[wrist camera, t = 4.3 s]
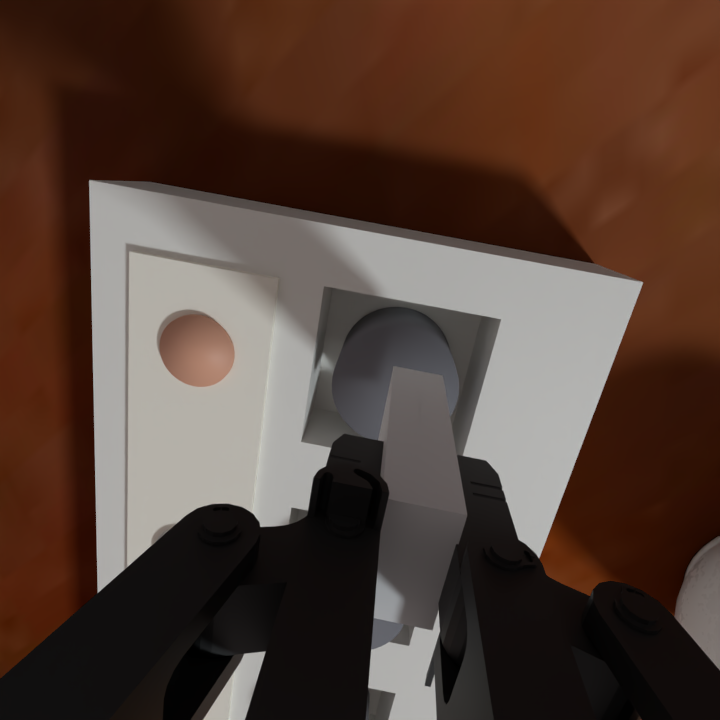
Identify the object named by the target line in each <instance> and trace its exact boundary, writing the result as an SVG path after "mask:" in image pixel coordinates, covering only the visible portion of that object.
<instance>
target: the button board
mask: <svg viewBox="0 0 720 720" xmlns="http://www.w3.org/2000/svg"><path fill="white" fill-rule="evenodd" d="M89 198H90V246H91V295H92V343H93V391H94V439H95V488H96V536H97V584H98V592H99V591H101V590H102V589H103V588H104V587H105V586H106V585H107V584H109V583H110V582H111V581H112V580H113V579H114V578H115V577H117V576H118V575H119V574H120V573H121V572H122V571H123V570H124V569H126V568H127V567H128V566H129V565H130V564H131V563H132V562H134V561H135V560H136V559H137V558H138V557H139V556H140V555H141V554H143V553H144V552H145V551H146V550H147V549H148V548H149V547H151V546H152V545H153V544H154V543H155V542H156V541H157V540H159V539H160V538H161V537H162V536H163V535H164V534H165V533H166V532H168V531H169V530H170V529H171V528H172V527H173V526H174V525H176V524H177V523H178V522H179V521H180V520H181V519H182V518H183V517H185V516H186V515H187V514H189V513H191V512H192V511H194V510H195V509H197V508H199V507H203V506H207V505H210V504H232V505H236V506H240V507H243V508H245V509H246V510H248V511H250V512H251V513H253V514H254V516H255V517H256V518H257V520H258V521H259V522H260V527H271V526H282V525H288V524H291V523H295V522H297V521H299V520H301V519H303V518H304V517H306V516H307V514H308V508H309V501H310V495H311V489H312V483H313V477H314V476H315V475H316V473H317V472H318V470H320V469H322V468H324V467H326V463H327V460H328V457H329V453H330V450H331V447H332V443H333V442H334V441H335V440H337V439H338V438H339V437H340V436H342V435H343V434H349V435H354V436H359V437H363V436H361V435H360V434H358V433H357V432H355V431H354V430H353V429H352V428H350V427H349V426H348V425H347V423H346V422H345V421H344V420H343V419H342V417H341V416H340V414H339V412H338V410H337V408H336V406H335V403H334V400H333V395H332V376H333V372H334V368H335V366H336V363H337V360H338V358H339V355H340V352H341V349H342V347H343V344H344V341H345V339H346V336H347V335H348V333H349V331H350V330H351V328H352V327H353V326H354V325H355V324H356V323H357V322H358V321H359V320H360V319H361V318H363V317H364V316H366V315H367V314H369V313H371V312H373V311H376V310H378V309H382V308H387V307H405V308H410V309H414V310H416V311H419V312H421V313H423V314H425V315H426V316H428V317H429V318H431V319H432V320H433V321H434V322H435V323H436V324H437V325H438V326H439V327H440V329H441V330H442V331H443V333H444V335H445V337H446V339H447V341H448V344H449V347H450V351H451V354H452V357H453V360H454V363H455V367H456V370H457V374H458V378H459V395H458V400H457V403H456V406H455V409H454V411H453V413H452V415H451V416H450V419H451V425H452V431H453V436H454V442H455V448H456V453H457V455H461V456H466V457H471V458H476V459H481V460H486V461H487V462H488V463H489V464H490V465H491V467H492V468H493V469H494V470H495V471H496V472H497V473H498V475H499V478H500V481H501V485H502V490H503V491H504V494H505V498H506V502H507V504H508V507H509V511H510V514H511V517H512V520H513V524H514V527H515V530H516V533H517V537H518V540H520V541H521V542H523V543H525V544H526V545H527V546H528V547H529V548H530V549H531V550H533V551H534V552H535V553H536V555H537V556H538V558H539V557H540V555H541V552H542V549H543V547H544V544H545V542H546V539H547V536H548V534H549V531H550V528H551V526H552V523H553V520H554V518H555V515H556V512H557V510H558V507H559V504H560V502H561V499H562V496H563V494H564V491H565V488H566V486H567V483H568V480H569V478H570V475H571V473H572V470H573V467H574V465H575V462H576V459H577V457H578V454H579V451H580V449H581V446H582V443H583V441H584V438H585V435H586V433H587V430H588V427H589V425H590V422H591V419H592V417H593V414H594V411H595V409H596V406H597V404H598V401H599V398H600V396H601V393H602V390H603V388H604V385H605V382H606V380H607V377H608V374H609V372H610V369H611V366H612V364H613V361H614V358H615V356H616V353H617V350H618V348H619V345H620V342H621V340H622V337H623V335H624V332H625V329H626V327H627V324H628V321H629V319H630V316H631V313H632V311H633V308H634V305H635V303H636V300H637V297H638V295H639V292H640V289H641V287H642V284H643V282H641V281H638V280H636V279H633V278H631V277H628V276H625V275H623V274H620V273H618V272H615V271H612V270H610V269H607V268H605V267H602V266H599V265H597V264H593V263H588V262H582V261H577V260H572V259H566V258H561V257H555V256H550V255H544V254H539V253H534V252H528V251H523V250H517V249H512V248H506V247H501V246H496V245H490V244H485V243H479V242H474V241H469V240H463V239H458V238H452V237H447V236H441V235H436V234H431V233H425V232H420V231H414V230H409V229H403V228H398V227H393V226H387V225H382V224H376V223H371V222H365V221H360V220H355V219H349V218H344V217H338V216H333V215H328V214H322V213H317V212H311V211H306V210H300V209H295V208H290V207H284V206H279V205H273V204H268V203H262V202H257V201H252V200H246V199H241V198H235V197H230V196H224V195H219V194H214V193H208V192H203V191H197V190H192V189H187V188H181V187H176V186H170V185H165V184H159V183H154V182H143V181H108V180H89ZM364 438H365V437H364ZM439 633H440V624H439V610H438V614H437V617H436V620H435V624H434V627H433V630H428V629H423V628H418V627H414V626H409V625H403V627H402V629H401V631H400V632H399V633H398V635H397V636H396V637H395V638H394V639H393V640H391V641H390V642H388V643H387V644H385V645H383V646H381V647H378V648H376V649H372V650H371V659H370V671H369V684H368V689H369V693H370V702H369V719H368V720H437V715H436V694H435V675H434V678H433V681H432V684H431V687H428V686H425V680H426V675H427V671H428V668H429V665H430V662H431V659H432V655H433V652H434V649H435V646H436V642H437V639H438V636H439ZM265 652H266V651H265ZM265 652H256V653H247V654H244V655H243V658H242V660H241V662H240V664H239V665H238V667H237V668H236V670H235V671H234V673H233V674H232V676H231V677H230V679H229V681H228V682H227V684H226V685H225V687H224V688H223V690H222V691H221V693H220V694H219V696H218V698H217V699H216V701H215V702H214V704H213V705H212V707H211V708H210V710H209V711H208V713H207V715H206V716H205V718H204V719H203V720H245V718H246V715H247V711H248V708H249V705H250V701H251V698H252V695H253V692H254V688H255V685H256V682H257V679H258V675H259V672H260V669H261V666H262V662H263V659H264V656H265Z"/></svg>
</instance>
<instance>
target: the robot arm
mask: <svg viewBox="0 0 720 720" xmlns="http://www.w3.org/2000/svg"><path fill="white" fill-rule="evenodd" d="M438 610H439V624H440V633H439V636H438V639H437V642H436V646H435V649H434V652H433V655H432V659H431V662H430V665H429V668H428V671H427V675H426V680H425V686H428V687H431V684H432V681H433V678H434V675H435V694H436V715H437V720H640V719H642V720H720V670H719V669H718V668H717V666H716V665H715V664H714V663H713V662H712V661H711V659H710V658H709V657H708V656H707V655H706V654H705V652H704V651H703V650H702V649H701V648H700V647H699V645H698V644H697V643H696V642H695V641H694V640H693V638H692V637H691V636H690V635H689V634H688V633H687V631H686V630H685V629H684V628H683V627H682V625H681V624H680V623H679V622H678V621H677V620H676V618H675V617H674V616H673V615H672V614H671V613H670V612H669V611H668V610H667V609H666V608H665V607H664V606H663V605H662V604H661V603H660V602H659V601H657V600H656V599H654V598H653V597H651V596H650V595H648V594H646V593H645V592H643V591H642V590H640V589H637V588H635V587H632V586H630V585H628V584H625V583H620V582H614V581H608V582H602V583H599V584H598V585H597V586H596V587H595V588H594V589H593V591H592V593H591V596H588V595H586V594H584V593H581V592H579V591H577V590H575V589H572V588H570V587H568V586H566V585H563V584H561V583H559V582H557V581H555V580H553V579H552V578H550V577H548V576H547V575H546V574H545V571H544V568H543V565H542V563H541V561H540V560H539V558H538V556H537V555H536V553H535V552H534V551H533V550H531V549H530V548H529V547H528V546H527V545H526V544H525V543H523V542H521V541H520V540H518V537H517V533H516V530H515V527H514V524H513V520H512V517H511V514H510V511H509V507H508V504H507V502H506V498H505V494H504V491H503V490H502V485H501V481H500V478H499V475H498V473H497V472H496V471H495V470H494V469H493V468H492V467H491V465H490V464H489V463H488V462H487V461H486V460H481V459H476V458H471V457H466V456H461V455H457V453H456V448H455V442H454V436H453V431H452V425H451V419H450V414H449V408H448V402H447V397H446V391H445V385H444V380H443V376H442V375H437V374H432V373H427V372H422V371H416V370H411V369H406V368H401V367H396V366H394V367H393V371H392V376H391V381H390V386H389V391H388V395H387V400H386V405H385V410H384V414H383V419H382V424H381V429H380V433H379V438H378V440H374V439H369V438H364V437H359V436H354V435H349V434H343V435H342V436H340V437H339V438H338V439H337V440H335V441H334V442H333V443H332V447H331V450H330V453H329V457H328V460H327V463H326V467H324V468H322V469H320V470H318V472H317V473H316V475H315V476H314V477H313V483H312V489H311V495H310V501H309V508H308V514H307V516H306V517H304V518H303V519H301V520H299V521H297V522H295V523H291V524H288V525H282V526H271V527H260V522H259V521H258V520H257V518H256V517H255V516H254V514H253V513H251V512H250V511H248V510H246V509H245V508H243V507H240V506H236V505H232V504H210V505H207V506H203V507H199V508H197V509H195V510H194V511H192V512H191V513H189V514H187V515H186V516H185V517H183V518H182V519H181V520H180V521H179V522H178V523H177V524H176V525H174V526H173V527H172V528H171V529H170V530H169V531H168V532H166V533H165V534H164V535H163V536H162V537H161V538H160V539H159V540H157V541H156V542H155V543H154V544H153V545H152V546H151V547H149V548H148V549H147V550H146V551H145V552H144V553H143V554H141V555H140V556H139V557H138V558H137V559H136V560H135V561H134V562H132V563H131V564H130V565H129V566H128V567H127V568H126V569H124V570H123V571H122V572H121V573H120V574H119V575H118V576H117V577H115V578H114V579H113V580H112V581H111V582H110V583H109V584H107V585H106V586H105V587H104V588H103V589H102V590H101V591H99V592H98V593H97V594H96V595H95V596H94V597H93V598H92V599H90V600H89V601H88V602H87V603H86V604H85V605H84V606H82V607H81V608H80V609H79V610H78V611H77V612H76V613H75V614H73V615H72V616H71V617H70V618H69V619H68V620H67V621H65V622H64V623H63V624H62V625H61V626H60V627H59V628H58V629H56V630H55V631H54V632H53V633H52V634H51V635H50V636H48V637H47V638H46V639H45V640H44V641H43V642H42V643H40V644H39V645H38V646H37V647H36V648H35V649H34V650H33V651H31V652H30V653H29V654H28V655H27V656H26V657H25V658H23V659H22V660H21V661H20V662H19V663H18V664H17V665H16V666H14V667H13V668H12V669H11V670H10V671H9V672H8V673H6V674H5V675H4V676H3V677H2V678H1V679H0V720H203V719H204V718H205V716H206V715H207V713H208V711H209V710H210V708H211V707H212V705H213V704H214V702H215V701H216V699H217V698H218V696H219V694H220V693H221V691H222V690H223V688H224V687H225V685H226V684H227V682H228V681H229V679H230V677H231V676H232V674H233V673H234V671H235V670H236V668H237V667H238V665H239V664H240V662H241V660H242V658H243V655H244V654H247V653H256V652H265V651H266V652H265V656H264V659H263V662H262V666H261V669H260V672H259V675H258V679H257V682H256V685H255V688H254V692H253V695H252V698H251V701H250V705H249V708H248V711H247V715H246V718H245V720H366V709H367V696H368V684H369V671H370V659H371V646H372V634H373V621H374V618H376V619H381V620H385V621H390V622H395V623H400V624H404V625H409V626H414V627H418V628H423V629H428V630H433V627H434V624H435V620H436V617H437V614H438Z"/></svg>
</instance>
